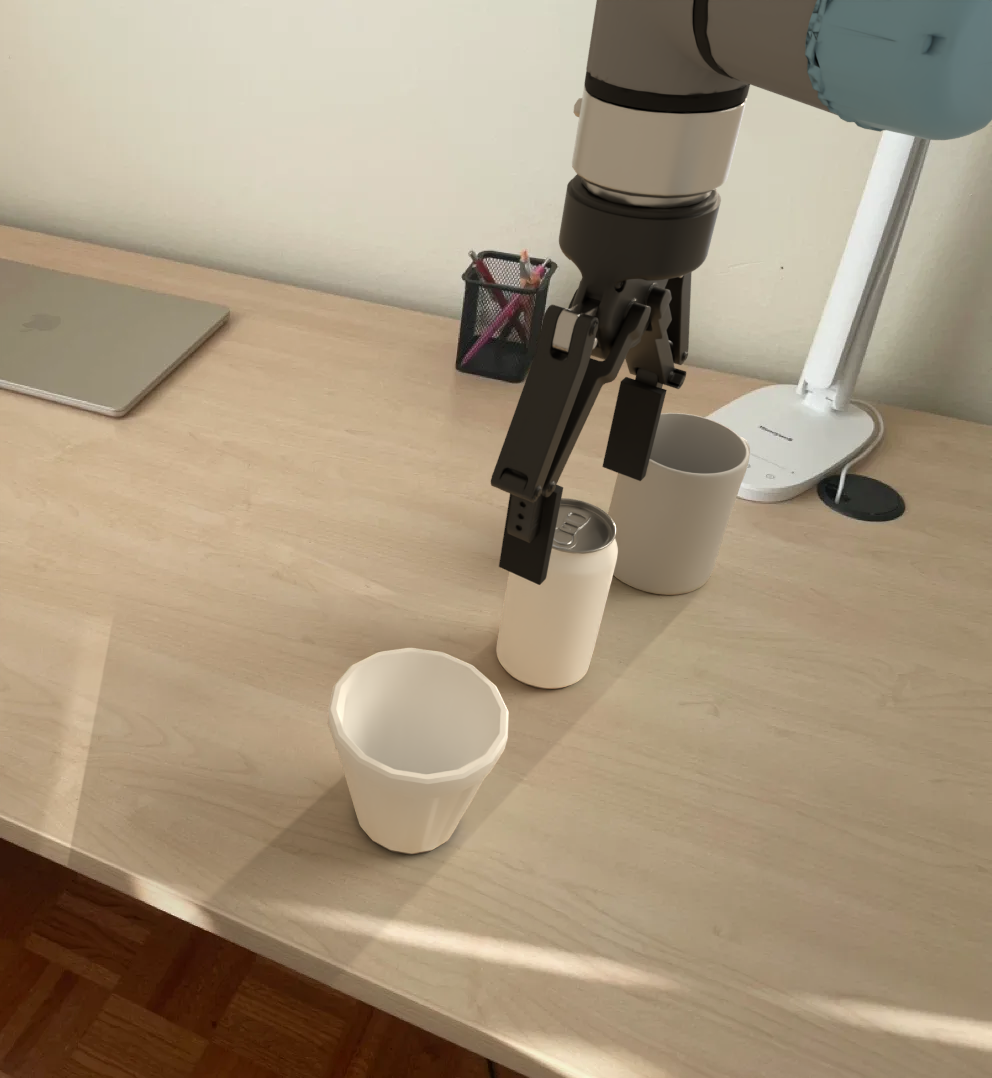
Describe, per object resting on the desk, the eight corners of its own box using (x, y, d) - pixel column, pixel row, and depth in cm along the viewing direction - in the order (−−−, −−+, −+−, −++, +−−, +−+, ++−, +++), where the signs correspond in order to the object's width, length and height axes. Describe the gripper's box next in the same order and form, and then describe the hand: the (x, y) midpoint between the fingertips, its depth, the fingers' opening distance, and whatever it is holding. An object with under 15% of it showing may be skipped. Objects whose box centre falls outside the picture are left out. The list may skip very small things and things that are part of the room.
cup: (502, 886, 60) (525, 782, 54) (326, 885, 60) (330, 781, 54) (476, 749, 68) (494, 645, 62) (321, 749, 68) (324, 645, 62)
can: (479, 667, 74) (501, 532, 66) (518, 615, 78) (543, 482, 70) (567, 706, 71) (600, 569, 63) (602, 650, 75) (638, 515, 67)
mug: (659, 611, 78) (695, 490, 71) (575, 550, 84) (601, 432, 77) (764, 555, 83) (807, 437, 76) (678, 501, 89) (712, 387, 82)
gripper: (674, 110, 63) (609, 418, 76) (448, 238, 48) (414, 595, 61) (804, 134, 59) (712, 454, 72) (602, 281, 44) (531, 652, 57)
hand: (575, 519), depth 66 cm, fingers open, 13 cm apart
